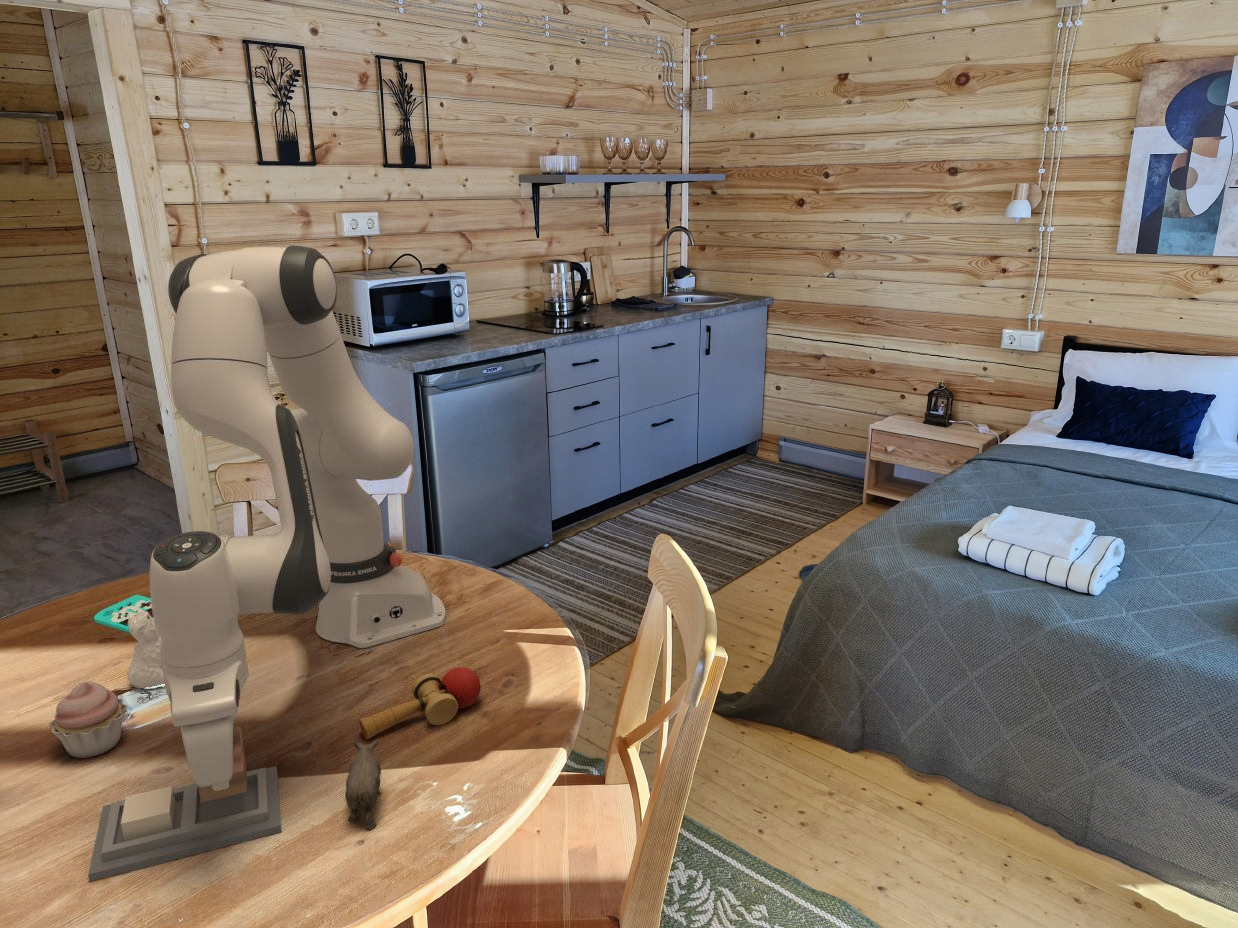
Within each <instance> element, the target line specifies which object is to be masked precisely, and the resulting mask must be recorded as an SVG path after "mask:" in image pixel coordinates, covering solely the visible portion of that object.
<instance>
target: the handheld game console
mask: <svg viewBox="0 0 1238 928" xmlns="http://www.w3.org/2000/svg"><path fill="white" fill-rule="evenodd" d="M142 611H145V612H146V611H147V612H148V613H149V615H150V616H151V617H152V618H153V612H152V605H151V597H148V596H143V595H139V594H135V595H132V596H130V597H128V598H126V599H124V600H122V601H119V602H117V603H115V604H112V605H110V606H107V607H105V608H104V609H102V610H100V611H99V612H97V613H96V614H94V617H93V619H94V622H95V623H98V624H100V625H104V626H106V627H110V628H114V629H115V630H116V629H117V630H120V631H123V632H126V633H130V631H129V626H128V625H127V624H128V618H129V616H136V614H138V613H139V612H142ZM130 634H131V633H130Z"/></svg>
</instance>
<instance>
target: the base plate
mask: <svg viewBox="0 0 1238 928" xmlns="http://www.w3.org/2000/svg"><path fill="white" fill-rule="evenodd" d="M246 785H247V792H245V793H240V794H236V795H232V796H228V797H223V798H219V799H215V800H211V801H206V802H202V803H201V800H200V794H199V788H198V785H197V784H196V783H191V784H188V785H184V786H178V787H175V788H173V785H170V786H166V787H161V788H157V789H153V790H149V791H144V792H140V793H136V794H135V793H134V794H132V795H128V796H125V798H124V799H123V800H118V801H114V802H111V804H105V805H102V809H101V813H100V819H99V823H98V828H97V833H96V837H95V842H94V846H93V849H92V850H93V851H92V856H91V861H90V865H89V869H88V879H89V882H94V881H98V880H102V879H106V878H109V877H113V876H117V875H121V874H125V873H129V872H132V871H133V872H134V871H136V870H140V869H144V868H148V867H151V866H152V867H153V866H155V865H159V864H164V863H167V862H172V861H176V860H180V859H183V858H187V857H190V856H194V855H198V854H202V853H206V852H210V851H214V850H217V849H221V848H225V847H229V846H232V845H237V844H240V843H244V842H250V841H253V840H256V839H261V838H264V837H268V836H271V835H275V834H278V833H279V834H280V833H282V832H283V831H282V822H281V821H282V818H281V809H280V808H281V805H280V792H279V791H280V790H279V779H278V768H277V765H274V766H270V767H262V768H261V767H260V768H258V769H253V770H248V771H246Z"/></svg>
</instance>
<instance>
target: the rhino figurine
mask: <svg viewBox="0 0 1238 928" xmlns="http://www.w3.org/2000/svg"><path fill="white" fill-rule="evenodd" d="M378 744H379V739H378V738H375V739H374V740H373V741H372V742H371V743H370V744H368V742H367V741H365V742H364V744H361V743H360V741H358V740H356V739H355V740H354V743H353V745H354V747H355V748H356V749H357V750H358V752H357V754H356V755H355V757H354V758H353V759H352V761H351V763H350V765H349V768H348V775H347V778H346V780H345V793H344V794H345V802H346V804H347V806H348V808H349V810H350V816H349V817H347V821H348V822H349V824H351V825H352V824H353V825H355V824H357V823H359V820H360V814H359V811H360V809H359V808H360V805H361V804H362V807H363V809H364V819H365V820H364V821H365V823H364V829H365V830H367V831H369V830H373V829H375V828H376V826H377V825H378V824H377V822H376V821H375V820H374V810H375V807H376V804H377V801H378V797H379V796H381V794H382V792H381V789H380V786H381V782H382V781H381V777H380V776H381V774H382V773H381V772H382V767H381V764H380V761H379V760H378V759H377V757H376V756H375V755H374V751H373V750H374V748H376V747H377V746H378Z"/></svg>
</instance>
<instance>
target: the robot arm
mask: <svg viewBox="0 0 1238 928" xmlns="http://www.w3.org/2000/svg"><path fill="white" fill-rule="evenodd" d="M336 281H337V280H336V276H335V273H334V270H333V268H332V265H331V263H330V261H329V260H328V259H327V257H325V255H323V254H322V253H321V252H320V251H319V250H317V249H316V248H313V247H309V246H304V245H303V246H302V245H295V244H294V245H292V244H291V245H289V246H287V247H284V246H283V247H282V246H250V247H243V248H242V249H235V250H234V249H233V250H227V251H221V252H215V253H211V254H206V253H199V254H196V255H192V256H189V257H186V258H184V259H181V260H180V261H178V263H177V264H176V265H175V267H174V269H173V270H172V272H171V273H170V275H169V278H168V286H167V289H168V297H169V301H170V304H171V307H172V309H173V311H174V313H175V314H176V315H175V320H174V326H173V333H172V343H171V357H170V359H171V361H170V366H171V367H170V382H171V383H170V384H171V394H172V400H173V405H174V407H175V409H176V410H177V413H179V415H180V416H181V418H182V419H183V420H184V421H185V422H186V423H187V424H188V425H190V426H191V427H192V428H194V429H195V430H196V431H199V432H201V433H203V434H205V435H206V436H209V437H212V438H215V439H217V440H220V441H223V442H226V443H229V444H231V445H235V446H238V447H241V448H243V449H246V450H248V451H251V452H252V453H255V454H256V455H257V456H259V457H260V458H262V460H263V461H264V462H265V464H266V465H267V466H268V469H269V471H270V475H271V480H272V486H273V489H274V496H275V499H276V500H275V501H276V504H277V511H278V515H279V516H278V517H279V520H280V525H281V526H280V528H281V530H280V532H278V533H276V534H266V535H260V534H259V535H242V536H240V535H238V536H237V535H223V536H222V535H221V536H220V535H217V534H215V533H214V532H209V531H205V530H204V531H203V530H194V531H193V530H192V531H187V532H183V533H182V532H181V533H179V534H176V535H173V536H170V537H168V538H166V539H165V540H163V541H162V542H160V543H159V544H158V545H157V546H156V547H155V548H154V550H153V551H152V554H151V557H150V562H149V592H150V593H149V595H150V598H151V605H152V612H153V619H154V624H155V626H156V628H157V630H158V632H159V635H160V636H161V648H160V659H161V665H162V671H163V676H164V682H165V687H164V688H165V693H166V695H167V697H168V700H169V702H170V713H171V719H172V725H173V726H174V727H176V728H177V727H180V733H181V738H182V742H183V746H184V751H185V755H186V758H187V761H188V765H189V769H190V772H191V775H192V778H193V779H192V780H193V781H194V784H197V785H198V786H199V787H207V786H212V788H213V790H214V791H219V790H223V789H227V788H228V787H229V781H230V780H231V778H232V773H233V728H234V721H235V719H234V718H235V715H237V714H238V710H239V709H238V708H239V704H240V698H241V694H242V691H243V689H244V686H245V684H246V682H247V681H248V679H249V676H250V672H249V666H248V658H247V651H246V644H245V643H246V642H245V638H244V634H243V632H242V629H241V628H240V626H239V615H244V614H262V613H263V614H265V613H266V614H268V613H274V614H281V615H283V614H284V615H286V614H287V615H304V614H307V613H308V612H310V611H312V609H314V608H315V607H316V606H317V605H318V614H317V619H316V623H315V632H316V634H317V635H318V636H319V637H320V638H322V639H324V640H327V641H329V642H333V643H334V642H335V643H340V644H341V643H342V644H347V645H350V646H353V647H355V648H358V649H367V648H369V647H374V646H376V645H380V644H383V643H387V642H390V641H393V640H397V639H401V638H405V637H408V636H412V635H414V634H415V635H416V634H419V633H422V632H425V631H429V630H432V629H436V628H440V627H441V626H443V624H444V623H445V622H446V618H447V613H446V612H447V611H446V607H445V605H444V603H443V601H442V599H441V598H440V597H439V596H437V595H436V593H433V592H431V590H430V586H429V585H428V583H427V581H426V580H425V579H424V577H423V576H422V575H421V574H420V573H419V572H417V571H415V570H413V569H411V568H409V567H407V566H404V565H403V558H402V556H401V554H400V553H398V552H397V550H396V548H395V547H393V545H392V544H391V543H390V542H387V544H386V543H384V534H383V533H384V532H383V521H382V510H381V508H380V505H379V503H378V501H377V500H376V499H375V498H374V497H373V496H372V495H371V494H369V493H368V492H367V491H366V490H364V488H363V487H362V486H361V485H360V483H359V482H358V480H362V481H369V482H370V481H383V480H385V481H386V480H392V479H396V478H399V477H401V476H402V475H403V474H404V473H405V472H406V471H407V469H408V468H409V467H410V466H411V463H412V460H413V458H414V452H415V443H414V438H413V435H412V432H411V431H410V429H409V427H408V426H407V425H406V424H405V423H404V422H403V421H401V420H398V419H397V418H395V417H394V416H392V415H391V414H390V413H388V411H387V410H385V409H384V408H383V407H382V406H381V405H380V404H379V403H378V402H377V401H376V399H374V398H373V396H372V395H371V394H370V393H369V392H368V390H367V389H366V387H365V386H364V384H362V381H361V380H360V378H359V377H358V376H357V373H356V371H355V369H354V366H353V365H352V362H351V359H350V356H349V354H348V351H347V348H346V345H345V343H344V340H343V336H342V333H341V330H340V328H339V325H338V322H337V320H336V316H335V314H334V312H333V309H334V308H335V305H336V302H337V296H338V290H337V289H338V286H337V282H336ZM268 356H269V359H270V361H271V364H272V367H273V368H274V369H273V370H274V372H275V374H276V376H277V379H278V381H279V383H280V387H281V390H282V391H283V393H284V395H285V396H286V398H287V399H288V400H289V401H291V403H293V404H294V405H296V406H297V407H299V408H297V409H289V408H287V407H285V406H283V405H282V404H279V402H278V401H277V399H276V398H275V396H274V394H273V391H272V388H271V385H270V382H269V375H268V374H269V373H268Z"/></svg>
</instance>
